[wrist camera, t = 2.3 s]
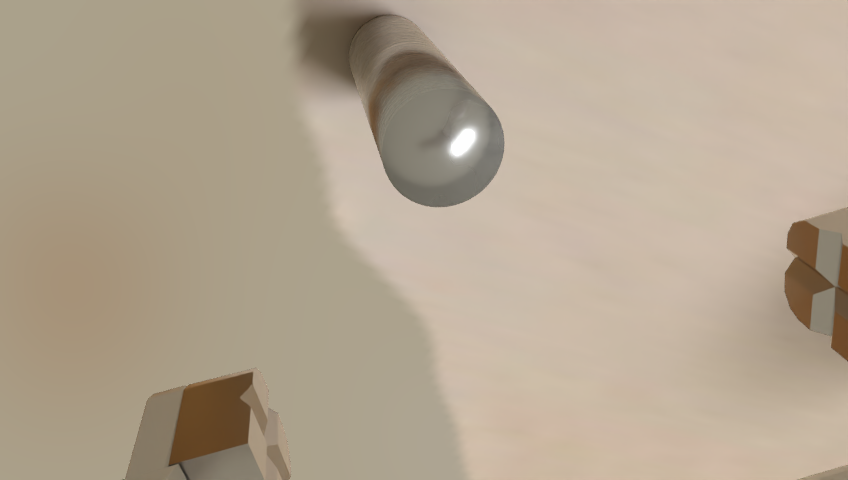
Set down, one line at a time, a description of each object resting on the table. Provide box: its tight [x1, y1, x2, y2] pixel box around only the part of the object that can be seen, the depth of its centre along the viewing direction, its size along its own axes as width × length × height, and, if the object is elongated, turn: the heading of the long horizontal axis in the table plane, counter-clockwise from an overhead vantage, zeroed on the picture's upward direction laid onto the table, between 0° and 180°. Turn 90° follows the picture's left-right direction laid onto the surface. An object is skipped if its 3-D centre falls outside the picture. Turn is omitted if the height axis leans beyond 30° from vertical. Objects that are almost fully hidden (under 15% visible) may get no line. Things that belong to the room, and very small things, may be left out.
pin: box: [349, 15, 504, 207], centre depth 21 cm, size 3×3×10 cm
